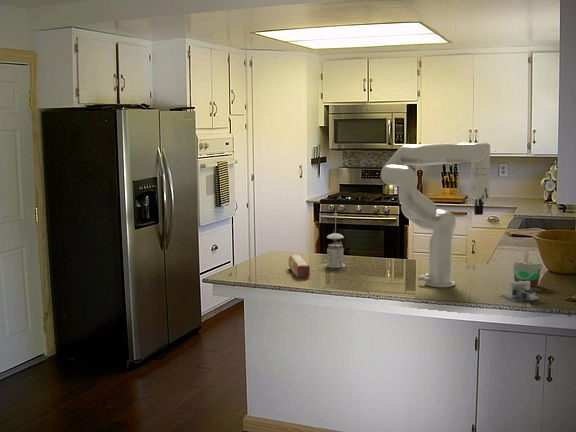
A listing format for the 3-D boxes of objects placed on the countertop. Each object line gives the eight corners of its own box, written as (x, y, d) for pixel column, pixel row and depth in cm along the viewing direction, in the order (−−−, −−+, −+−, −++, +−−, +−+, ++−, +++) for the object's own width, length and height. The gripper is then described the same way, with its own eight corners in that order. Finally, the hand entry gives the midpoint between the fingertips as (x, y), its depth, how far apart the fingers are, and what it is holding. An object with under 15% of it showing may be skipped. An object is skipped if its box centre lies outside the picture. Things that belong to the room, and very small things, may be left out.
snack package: (310, 278, 311) (310, 263, 310) (295, 279, 310) (295, 264, 309) (302, 268, 332) (302, 254, 331) (288, 268, 331) (288, 254, 330)
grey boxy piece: (523, 300, 270) (523, 287, 269) (509, 294, 278) (510, 282, 278) (545, 298, 272) (545, 285, 272) (531, 292, 281) (531, 280, 280)
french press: (340, 262, 343) (341, 211, 339) (350, 267, 332) (351, 214, 328) (321, 263, 340) (322, 212, 336) (330, 269, 329) (331, 215, 325)
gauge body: (514, 302, 273) (514, 293, 272) (501, 296, 281) (501, 288, 281) (539, 300, 276) (539, 291, 275) (525, 294, 284) (526, 286, 284)
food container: (509, 286, 296) (511, 263, 294) (510, 283, 302) (512, 260, 300) (541, 289, 292) (542, 265, 290) (541, 286, 297) (543, 262, 296)
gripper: (464, 170, 310) (462, 212, 312) (480, 173, 295) (478, 217, 298) (479, 170, 311) (478, 211, 314) (497, 173, 297) (495, 216, 300)
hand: (478, 214), depth 306 cm, fingers closed
